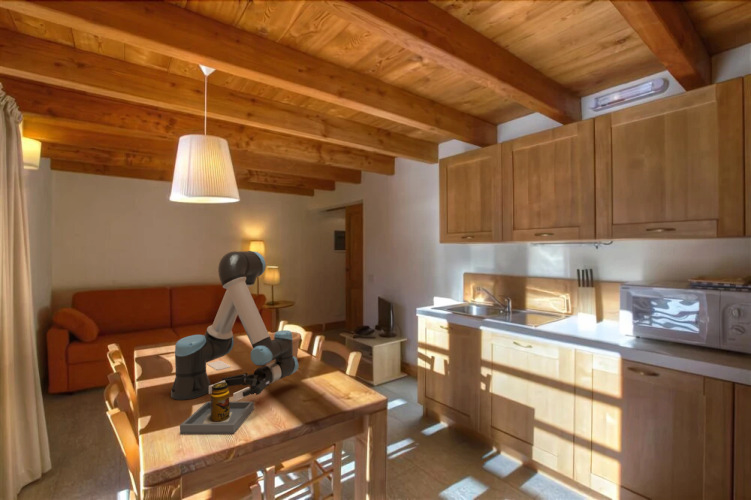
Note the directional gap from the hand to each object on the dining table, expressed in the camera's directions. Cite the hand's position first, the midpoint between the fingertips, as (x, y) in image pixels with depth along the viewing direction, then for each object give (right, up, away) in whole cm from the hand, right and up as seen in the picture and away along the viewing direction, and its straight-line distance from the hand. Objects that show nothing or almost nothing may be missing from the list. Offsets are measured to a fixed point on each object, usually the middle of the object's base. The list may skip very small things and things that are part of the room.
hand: (221, 393), depth 126 cm
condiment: (-1, -9, 0) cm, 9 cm away
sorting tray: (0, -10, 0) cm, 10 cm away
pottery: (+4, -10, +64) cm, 64 cm away
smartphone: (-28, -10, +61) cm, 68 cm away
